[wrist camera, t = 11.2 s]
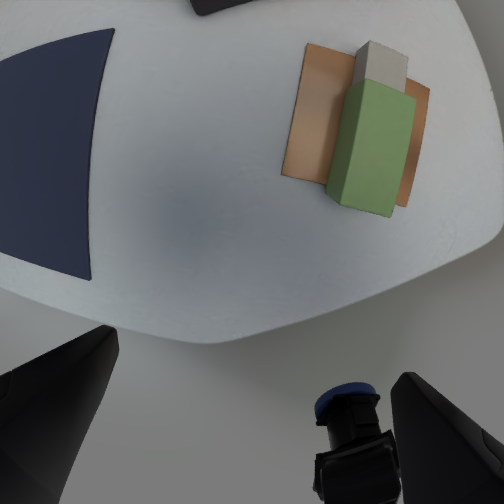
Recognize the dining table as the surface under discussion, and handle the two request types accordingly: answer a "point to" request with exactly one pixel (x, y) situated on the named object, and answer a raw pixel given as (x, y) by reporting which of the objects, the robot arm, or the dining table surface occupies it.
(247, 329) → the dining table surface
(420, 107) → the coaster
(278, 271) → the dining table surface
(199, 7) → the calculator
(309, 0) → the dining table surface
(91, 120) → the napkin
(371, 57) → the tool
